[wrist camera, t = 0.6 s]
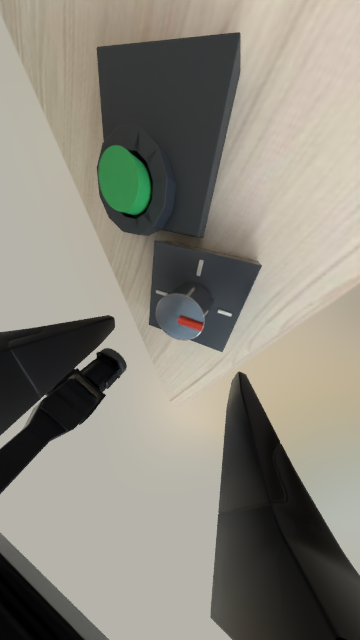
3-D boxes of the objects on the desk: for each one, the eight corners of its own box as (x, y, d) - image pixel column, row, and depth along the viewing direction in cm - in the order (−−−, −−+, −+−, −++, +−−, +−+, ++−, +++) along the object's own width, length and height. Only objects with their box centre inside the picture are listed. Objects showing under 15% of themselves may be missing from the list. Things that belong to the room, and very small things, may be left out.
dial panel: (159, 315, 22) (148, 325, 19) (167, 240, 16) (153, 240, 14) (224, 338, 19) (222, 353, 17) (258, 261, 14) (262, 265, 12)
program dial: (170, 313, 17) (152, 332, 13) (176, 276, 15) (156, 287, 11) (206, 325, 16) (196, 349, 13) (218, 288, 14) (210, 304, 10)
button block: (123, 228, 17) (96, 225, 14) (118, 76, 12) (70, 11, 8) (201, 245, 15) (190, 246, 12) (240, 70, 10) (241, -19, 6)
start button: (116, 211, 13) (101, 207, 12) (113, 155, 11) (95, 143, 10) (150, 218, 12) (138, 215, 11) (153, 159, 11) (139, 146, 9)
